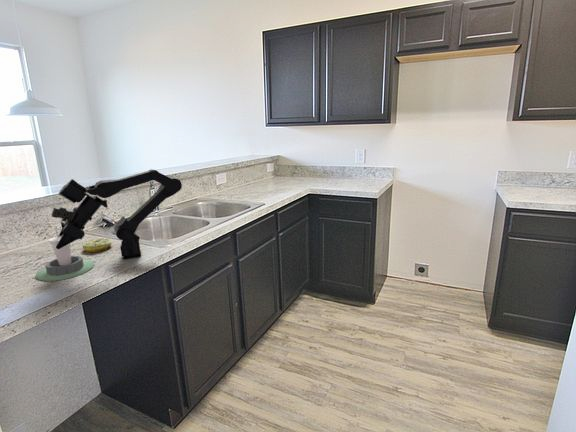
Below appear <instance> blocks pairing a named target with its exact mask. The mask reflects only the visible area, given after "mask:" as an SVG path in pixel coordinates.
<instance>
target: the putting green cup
mask: <svg viewBox="0 0 576 432" xmlns="http://www.w3.org/2000/svg"><path fill="white" fill-rule="evenodd" d="M94 266H95V262H94V261H92V260H90V259H84V258H83V257H82V256H80V255H71V263H70V264H68V265H63V266H61V265H59V262H58V260H57V258H54V259H52V260H50V261H47V262H46V263H45V267H43V268H41V269H40V270H39V271H37V272H36V274H35V279H36V280H37V281H42V282H54V281H62V280H68V279H71V278H74V277H75V278H76V277H78V276H81V275H83V274H85V273H87V272H90V271H91V270H92V269H93V268H94Z"/></svg>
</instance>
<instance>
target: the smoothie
mask: <svg viewBox="0 0 576 432" xmlns="http://www.w3.org/2000/svg"><path fill="white" fill-rule="evenodd" d="M57 228H58V227H57V226H54V231H55V235H56V236H55V237H52V238H49V240H48V242H49V244H50V245H51V248H52V250H53V253H54V255H55V257H56V258H55V259H57V260H58V262H59V265H61V266H63V265H68V264H70V263H71V256H72V252H71V243H70V244H68V245H66V246H64V247H62V248H60V249H57V248H56V246H57V244H58V242H59V241H60V239H61V237H62V236H59V233H58V230H57Z"/></svg>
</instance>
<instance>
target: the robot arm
mask: <svg viewBox="0 0 576 432" xmlns="http://www.w3.org/2000/svg"><path fill="white" fill-rule="evenodd" d="M153 181H155V182H156V183H159V184H160V185H159V186H158V189H157V190H156V192H155V193H153V194H152V196H150V198H148V199H147V200H146V201H145V202H144V203H143V204H142V205H141V206H140V207H139V208H138V209H137V210H136V211H134V213H133V214H132V215H130V216H129V217H125V216H122V217H121V218H120V219H119V220H118V221H117V222H115V223H114V224H115V225H114V226H113V233H114V235H115V237H116V238H117V239H118V240H120V241H121V243H120V253H121V257H122V259H123V260H127V259H128V260H129V259H134V258H139V257H140V258H141V257H142V250H141V244H140V236H139V235H138V234H137V229H138V227H139V225H140V224H141V223H142V222H143V221H145V220H146V218H148V217H149V215H151V213H152V212H153V211H155V209H157V208H158V207H159V206H160V205H161V204H162V203H163V202H164V201H165V200H167V199H168V198H170V197H172V196H174V195H176V194H178V193H179V192H180V191H181V190H182V188H183V187H182V186H183V185H182V182H181V180H180V179H178V178H176V177H173V176H168V175H165V174H164V173H161V172H159V171H158V170H156V169H149V170H145V171H143V172H140V173H136V174H132V175H129V176H125V177H122V178H118V179H117V178H115V179H105V180H99V181H97V182H96V183H95V184H94V185H89V186H86V187H85V186H83V185H82V184H80V183H78V182H77V181H76V180H75V179H74V178H71V179H70V180H69V181H68V182H67V183H66V184H64V186H62V187H61V189H60V191H59V192H58V195H59V196H61V197H62V198H64V199H66V200H68V201H69V202H71V203H73V204H75V203H79V205H78V206H77V207H74V208H73V209H70V208H66V207H60V206H57V205H55V206H53V209H52V212H51V217H52V218H56V219H57V218H59V219H61V221H60V224H61V230H60V231H59V233H58V236H62V237H61V239H60V241H59V242H58V244H57V246H56V248H57V249H60V248H62V247H64V246H66V245H68V244H70V245H71V243H73V242H75V241H78V240H82V239H83V238H84V237H85V231H84V229H85V226H86V225H87V223H89V221H92V219H93V216H94V215H95V214H96V213H97V211H99V209H101V206H102V207H104V208H106V209H107V208H108V207H109V205H108V200H107V199H108V198H111V197H113V196H115V195H117V194H118V193H120V192H121V191H124V190H125V189H130V188H132V187H136V186H139V185H143V184H145V183H149V182H153Z"/></svg>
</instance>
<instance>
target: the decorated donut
mask: <svg viewBox="0 0 576 432" xmlns="http://www.w3.org/2000/svg"><path fill="white" fill-rule="evenodd" d="M112 245H113V242H112V240H111V239H110V238H105V237H100V238H99V237H98V238H94V239H90V240H87V241H85V242H84V243H82V249H83V251H85V252H87V253H97V252H102V251H106V250H108V248H110V247H111V246H112Z"/></svg>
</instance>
